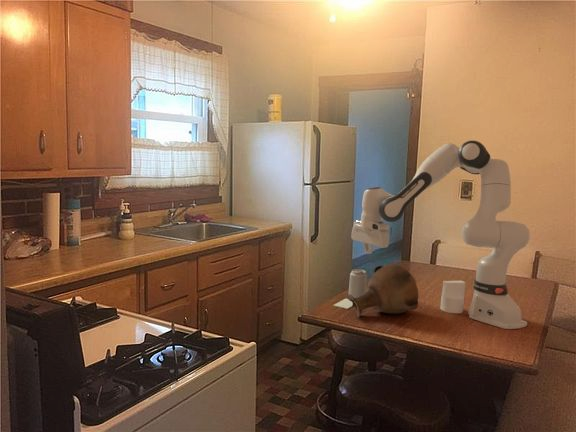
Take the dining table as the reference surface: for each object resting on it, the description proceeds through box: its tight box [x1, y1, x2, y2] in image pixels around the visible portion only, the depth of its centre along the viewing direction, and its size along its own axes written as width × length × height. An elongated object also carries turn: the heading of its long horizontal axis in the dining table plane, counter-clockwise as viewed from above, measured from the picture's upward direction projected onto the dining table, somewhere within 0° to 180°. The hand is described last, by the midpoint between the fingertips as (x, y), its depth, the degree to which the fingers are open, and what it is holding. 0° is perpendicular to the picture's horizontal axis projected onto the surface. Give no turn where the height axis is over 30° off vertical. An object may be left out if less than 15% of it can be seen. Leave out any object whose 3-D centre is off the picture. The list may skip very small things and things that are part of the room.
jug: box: [346, 263, 419, 318], centre depth 199 cm, size 20×20×30 cm
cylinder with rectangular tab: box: [440, 280, 466, 314], centre depth 208 cm, size 9×9×12 cm
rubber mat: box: [332, 298, 353, 310], centre depth 209 cm, size 12×6×1 cm, turn 149°
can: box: [348, 269, 368, 298], centre depth 219 cm, size 8×8×12 cm
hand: (368, 253), depth 226 cm, fingers closed
